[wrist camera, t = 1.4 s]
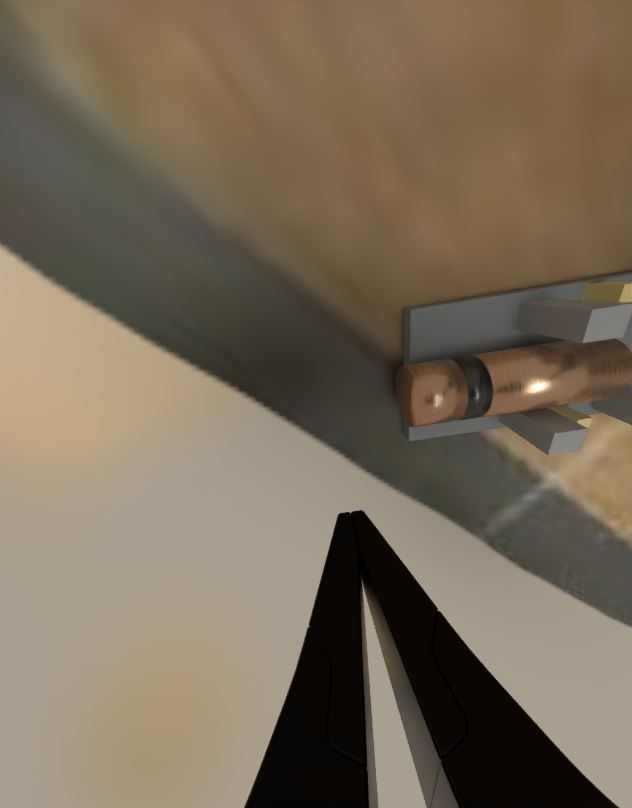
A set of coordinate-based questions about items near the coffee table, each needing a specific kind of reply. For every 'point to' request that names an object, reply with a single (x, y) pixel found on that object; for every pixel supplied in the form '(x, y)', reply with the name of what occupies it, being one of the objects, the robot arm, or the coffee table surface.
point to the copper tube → (512, 381)
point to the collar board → (519, 327)
